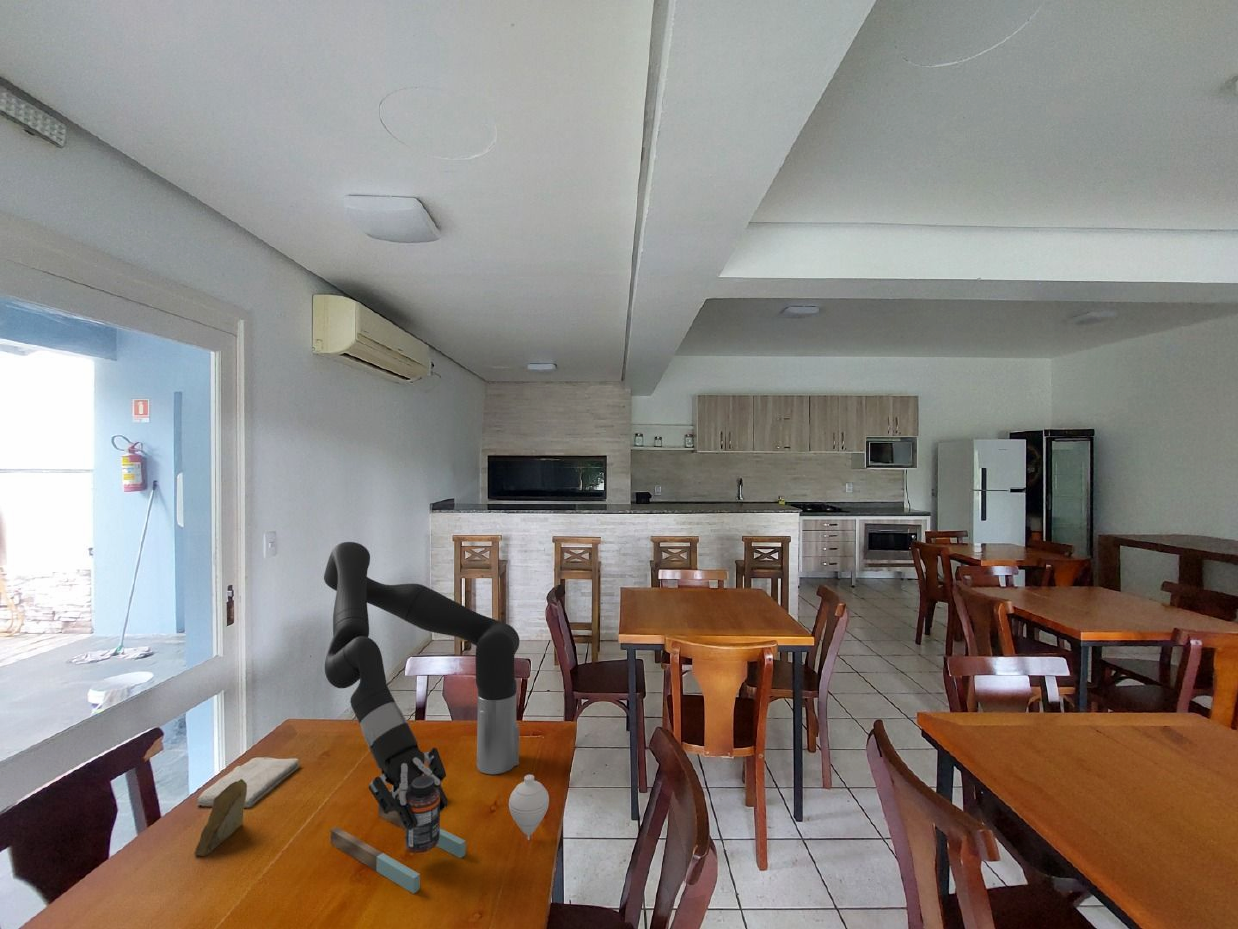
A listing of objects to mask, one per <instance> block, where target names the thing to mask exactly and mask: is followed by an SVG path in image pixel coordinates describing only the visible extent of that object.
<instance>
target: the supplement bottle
mask: <svg viewBox="0 0 1238 929" xmlns="http://www.w3.org/2000/svg"><path fill="white" fill-rule="evenodd" d="M406 804H410V806H411V808H412V811H413V813H414V815H415V817H416V819H417V821H418V824H417V825H416V826H415V827H414V828H413V829H412V830H408V828H407V829H406V828H405V829H404V843H405V845H404V847H405V849H406V850H407V851H408V852H411V853H413V854H422V853H426V852H429V851H430V850H432V849H434V848H435V847H437V846H436V844H437V843H438V841H439V835H440V829H441V827H440V825H441V823H440V822H441V811H440V792H439V790H438V789H437V788H435V779H434V778H433V777H432V776H424V775H422V776H420V777H418V778H416V779H414V780H413V781H412V784H411V792H410V793H409V794H408V795H407V803H406Z"/></svg>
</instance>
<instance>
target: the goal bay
mask: <svg viewBox="0 0 1238 929" xmlns="http://www.w3.org/2000/svg"><path fill="white" fill-rule="evenodd" d="M466 845H467V844H466V840H465V839H462V838H461V837H458V836H456V835H454V834H453V833H450V832H448V831H446V830H444V829H442V828H440V835H439V841H438V843H437V844H436V846H435V847H437V848H440V849H441V850H444V851H446V852H448V853H449V854H451V855H453V856H455V857H456V858H459V859H461V858H464V857H465V855H466V849H467V848H466V847H467V846H466ZM375 872H376V873H378V874H380V875H382V876H384V877H385V878H387V879H388V880H390V881H391V882H393V883H396V884H397V885H398V886H399V887H401V888H404V889H405V890H406V891H409V892H410V893H412V894H415V893H417V892H418V891H420V887H421V886H420V880H421V873H418V872H417V871H415V870H413V869H412V868H410V867H409V866H406V865H404V864H402V863H401V862H399V861H398V860H395V859H394V858H393V857H391V856H389V855H387V854H385V853H383V852H382V854H380V855H379V856H377V864H376V871H375Z"/></svg>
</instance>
